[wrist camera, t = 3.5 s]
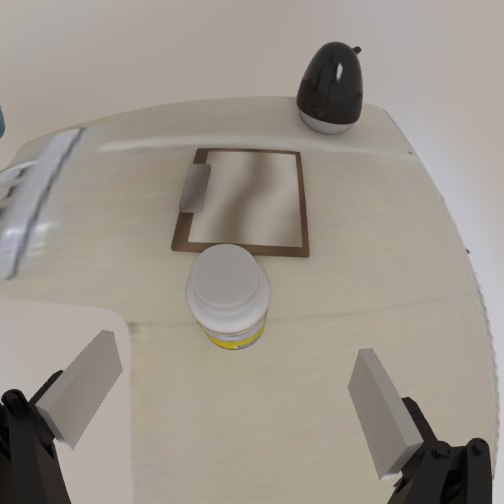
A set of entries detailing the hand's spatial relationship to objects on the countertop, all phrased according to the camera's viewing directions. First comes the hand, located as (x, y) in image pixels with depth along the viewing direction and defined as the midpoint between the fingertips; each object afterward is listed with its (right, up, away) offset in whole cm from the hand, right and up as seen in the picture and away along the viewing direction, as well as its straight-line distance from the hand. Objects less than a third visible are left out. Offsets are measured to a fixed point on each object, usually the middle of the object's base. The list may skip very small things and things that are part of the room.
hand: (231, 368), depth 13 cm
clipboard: (0, +13, +19) cm, 22 cm away
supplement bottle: (-1, -1, +11) cm, 11 cm away
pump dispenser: (+13, +27, +27) cm, 40 cm away
